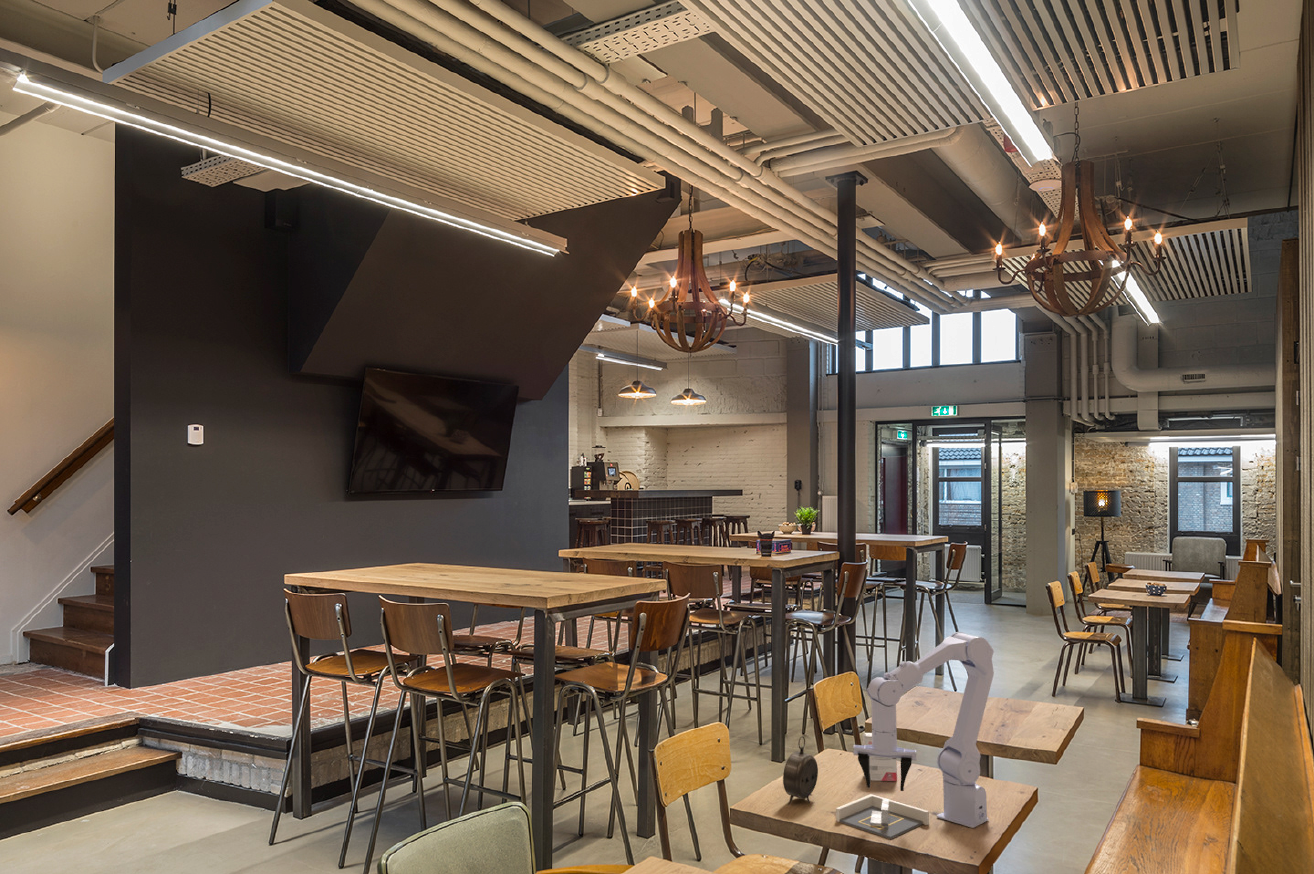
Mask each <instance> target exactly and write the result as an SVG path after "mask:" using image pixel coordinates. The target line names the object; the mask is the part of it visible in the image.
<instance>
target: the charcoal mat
mask: <svg viewBox="0 0 1314 874" xmlns="http://www.w3.org/2000/svg"><path fill="white" fill-rule="evenodd" d="M872 811H880V812H881V808H878V807H874V806H871V807H869V808H866V809H864V810H861V811H859V812H857V813H854V814H852V815H849V816H847V817H845V818H842V819H840V820H839V822H838V823H841V824H844V825H846V826H849V827H852V828H855V829H859V830H861V831H864V832H868V833H871V834H874V835H877V836H879V837H882V838H885V839H888V840H892V839H895V838H897V837H900V836H901V835H903V834H906V833H907V832H909V831H911V830H913V829H916V828H918V827H920V826H923V825H924V824H923V821H920V820H917V819H913V818H910V817H907V816H904V815H900V814H897V813H894V812H891V811H889V825H888V828H885V827H876V826H871V825H870V822H871V816H872Z"/></svg>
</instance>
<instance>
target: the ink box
mask: <svg viewBox="0 0 1314 874" xmlns="http://www.w3.org/2000/svg"><path fill="white" fill-rule="evenodd" d="M862 745H872V732H862ZM897 759H898V758H890V757H879V756H870V762H869V766H870V782H871V781H875V782H877V781H878V782H880V781H881V782H897V781H898V773H897V772H898V769H897V768H898V767H897V763H898V762H897ZM863 777H864V778H865V775H864V774H863Z"/></svg>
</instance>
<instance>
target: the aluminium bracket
mask: <svg viewBox="0 0 1314 874" xmlns="http://www.w3.org/2000/svg"><path fill="white" fill-rule="evenodd" d="M889 800H890V798H886V799H885V797H883V800H882V808H881V812H880V811H872V816H871V822H870V825H871V826H876V827H885V828H888V825H889Z"/></svg>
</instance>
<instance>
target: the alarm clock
mask: <svg viewBox="0 0 1314 874" xmlns="http://www.w3.org/2000/svg"><path fill="white" fill-rule="evenodd" d="M801 739H803V746H800V745H801V744H800V742H801ZM805 746H806V738H805V737H804V736H803V735H801V736H800V737H799V738H798V748H799V750H796V751H794V752H792V753H791V754H790V755H789V757H788V758H787V759H786V762H785V765H784V769H783V774H782V783H783V789H784V791H785V793H786V794H787V795H789V796H790V797H789V801H788V805H791V804H792V801H793V799H794V797H795V798H797V799H801V800H803V799H806V800H807V802H808V804H810V803H811V801H810V796H811V794H813V792H814V790H815V788H816V785H817V781H818V776H819V768H818V763H817V761H816V758H815V757H814V756H813V755H812V754H809V753H806V752H804V750H805Z"/></svg>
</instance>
